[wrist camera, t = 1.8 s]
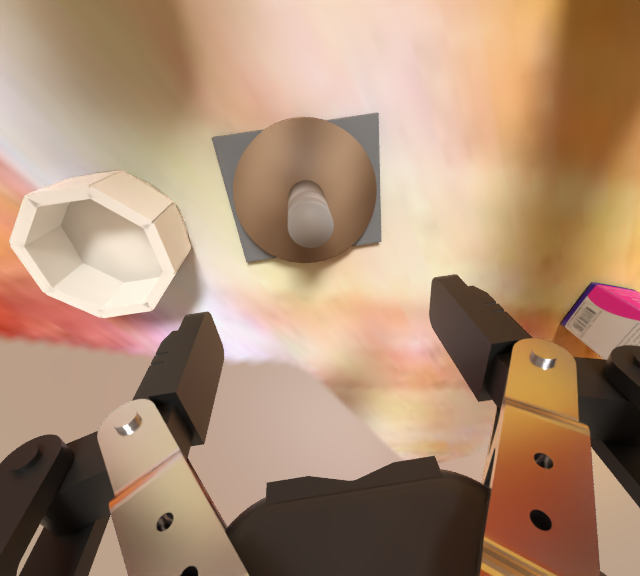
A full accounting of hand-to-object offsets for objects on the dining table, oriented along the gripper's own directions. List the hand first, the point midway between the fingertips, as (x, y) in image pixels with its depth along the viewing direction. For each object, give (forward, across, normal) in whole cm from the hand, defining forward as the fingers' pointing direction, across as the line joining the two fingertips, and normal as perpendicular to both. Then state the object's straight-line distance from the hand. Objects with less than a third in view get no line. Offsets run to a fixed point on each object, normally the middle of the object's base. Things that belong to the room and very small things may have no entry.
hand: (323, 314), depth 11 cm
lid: (+16, 0, 0) cm, 16 cm away
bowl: (+17, +15, +1) cm, 22 cm away
